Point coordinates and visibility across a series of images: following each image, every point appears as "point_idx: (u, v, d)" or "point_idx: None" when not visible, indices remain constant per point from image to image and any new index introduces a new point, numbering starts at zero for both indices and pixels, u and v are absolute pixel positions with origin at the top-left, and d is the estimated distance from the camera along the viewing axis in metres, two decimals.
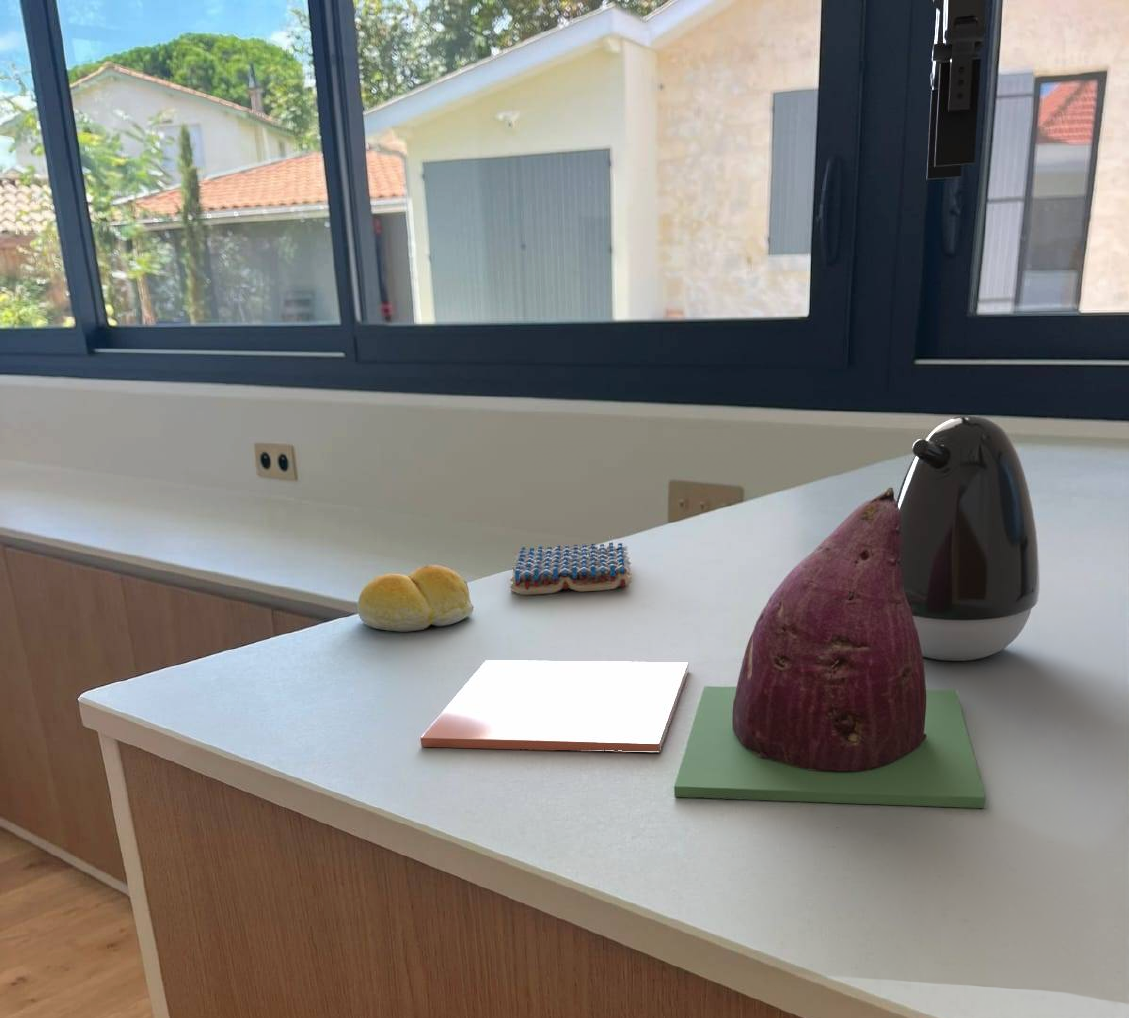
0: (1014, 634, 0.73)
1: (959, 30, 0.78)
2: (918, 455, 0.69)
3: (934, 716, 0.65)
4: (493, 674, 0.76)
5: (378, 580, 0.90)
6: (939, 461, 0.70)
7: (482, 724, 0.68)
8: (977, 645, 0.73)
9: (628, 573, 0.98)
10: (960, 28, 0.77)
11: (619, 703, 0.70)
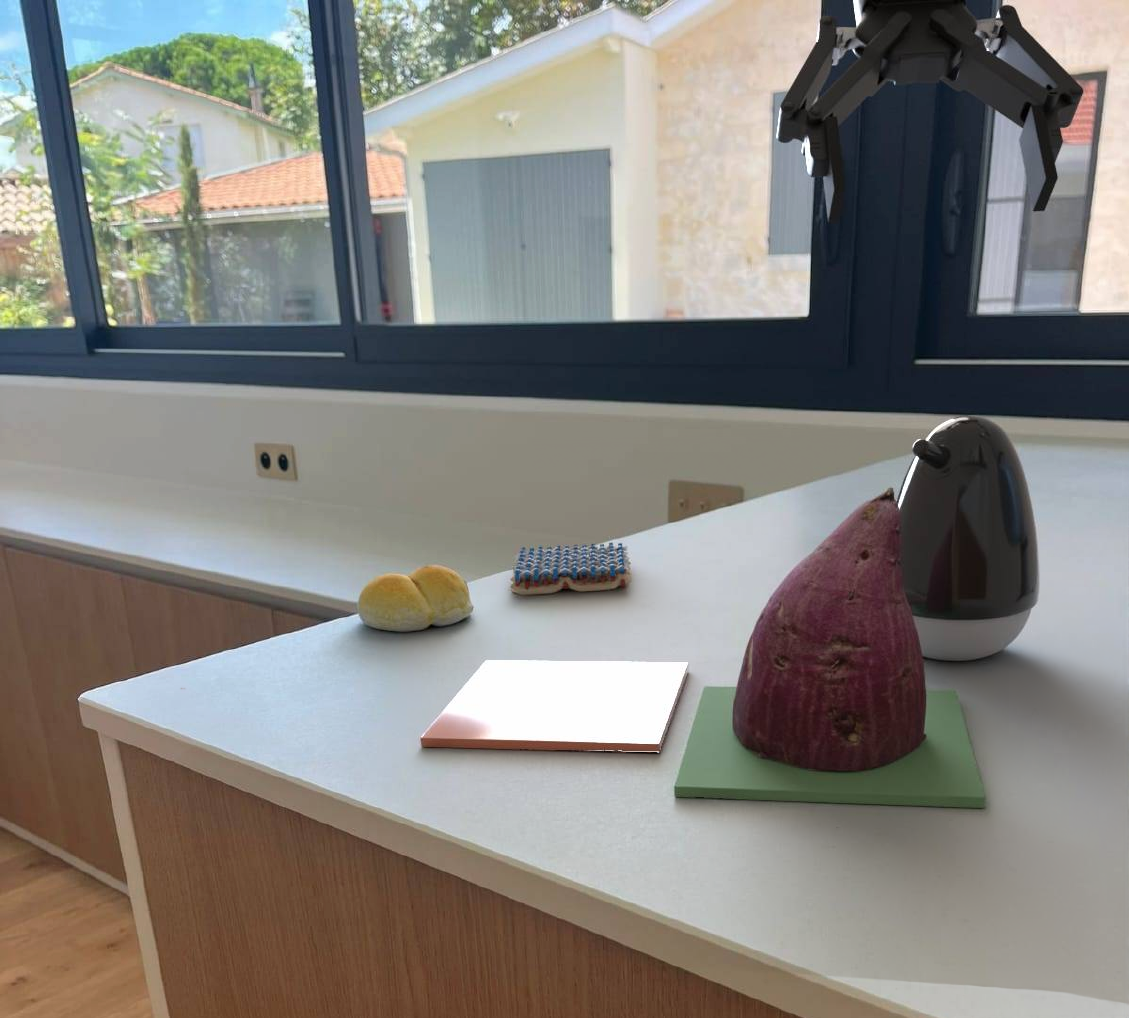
0: (1014, 634, 0.73)
1: None
2: (918, 455, 0.69)
3: (934, 716, 0.65)
4: (493, 674, 0.76)
5: (378, 580, 0.90)
6: (939, 461, 0.70)
7: (482, 724, 0.68)
8: (977, 645, 0.73)
9: (628, 573, 0.98)
10: None
11: (619, 703, 0.70)
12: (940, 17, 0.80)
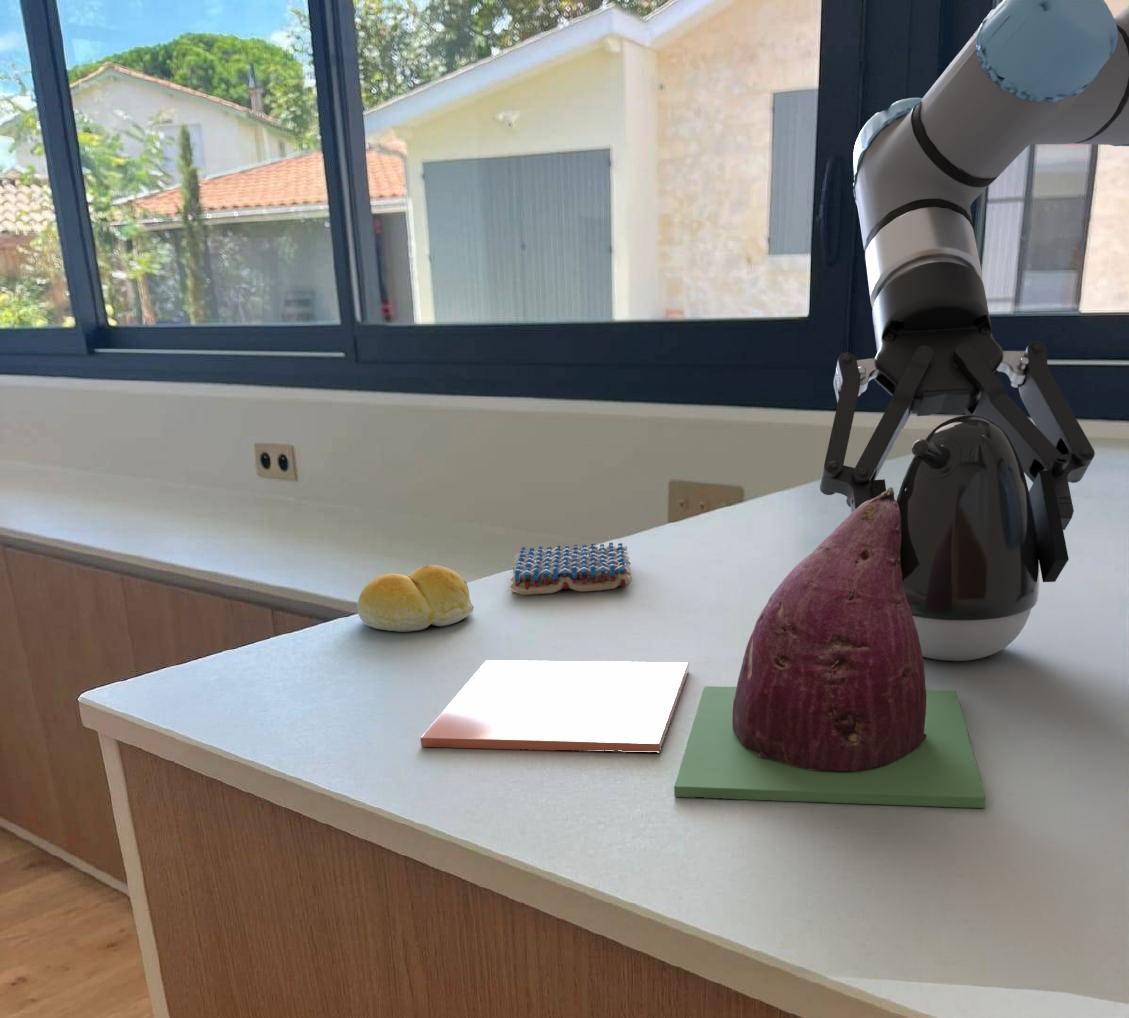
0: (1014, 634, 0.73)
1: (822, 479, 0.76)
2: (918, 455, 0.69)
3: (934, 716, 0.65)
4: (493, 674, 0.76)
5: (378, 580, 0.90)
6: (939, 461, 0.70)
7: (482, 724, 0.68)
8: (976, 645, 0.73)
9: (628, 573, 0.98)
10: None
11: (619, 703, 0.70)
12: (964, 352, 0.76)
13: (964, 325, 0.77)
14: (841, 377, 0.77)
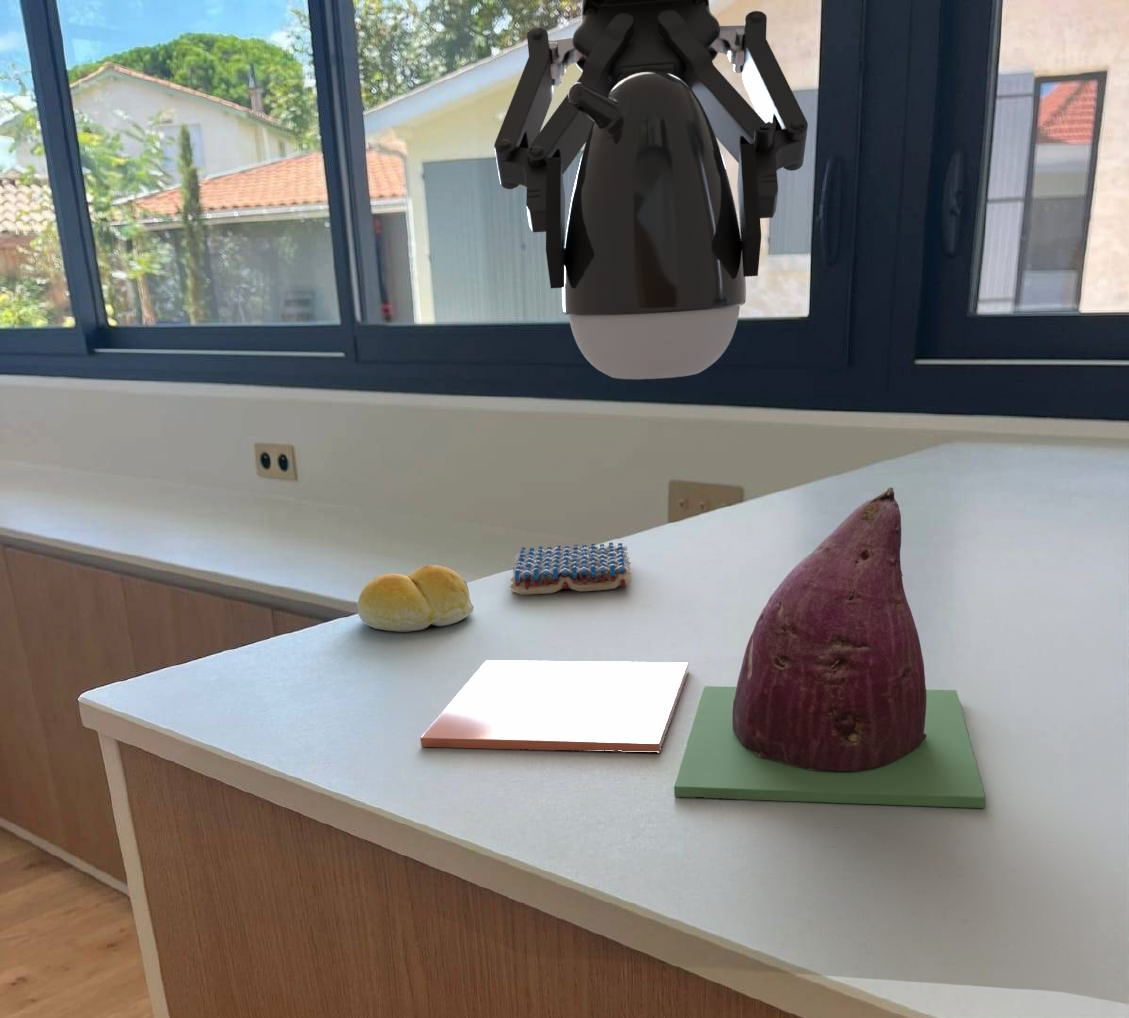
0: (711, 340, 0.62)
1: None
2: (573, 102, 0.57)
3: (934, 716, 0.65)
4: (493, 674, 0.76)
5: (378, 580, 0.90)
6: (603, 115, 0.58)
7: (482, 724, 0.68)
8: (663, 350, 0.61)
9: (628, 573, 0.98)
10: None
11: (619, 703, 0.70)
12: (668, 19, 0.64)
13: None
14: None
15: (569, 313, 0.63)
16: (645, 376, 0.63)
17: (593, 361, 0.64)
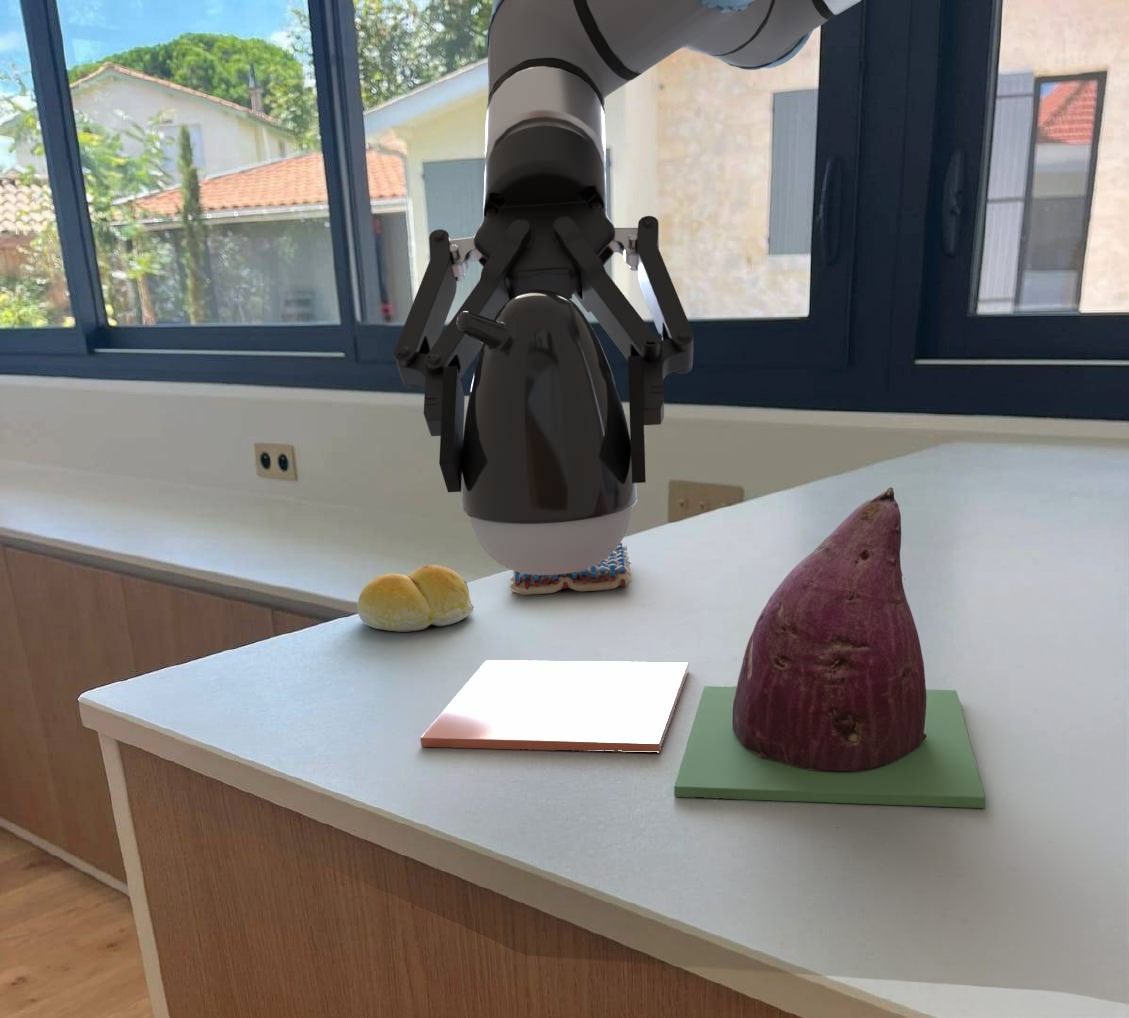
0: (601, 543, 0.64)
1: None
2: (461, 330, 0.60)
3: (934, 716, 0.65)
4: (493, 674, 0.76)
5: (378, 580, 0.90)
6: (491, 338, 0.61)
7: (482, 724, 0.68)
8: (555, 554, 0.64)
9: (628, 573, 0.98)
10: None
11: (619, 703, 0.70)
12: (563, 226, 0.67)
13: (572, 199, 0.69)
14: None
15: (466, 514, 0.65)
16: (540, 573, 0.66)
17: (491, 556, 0.67)
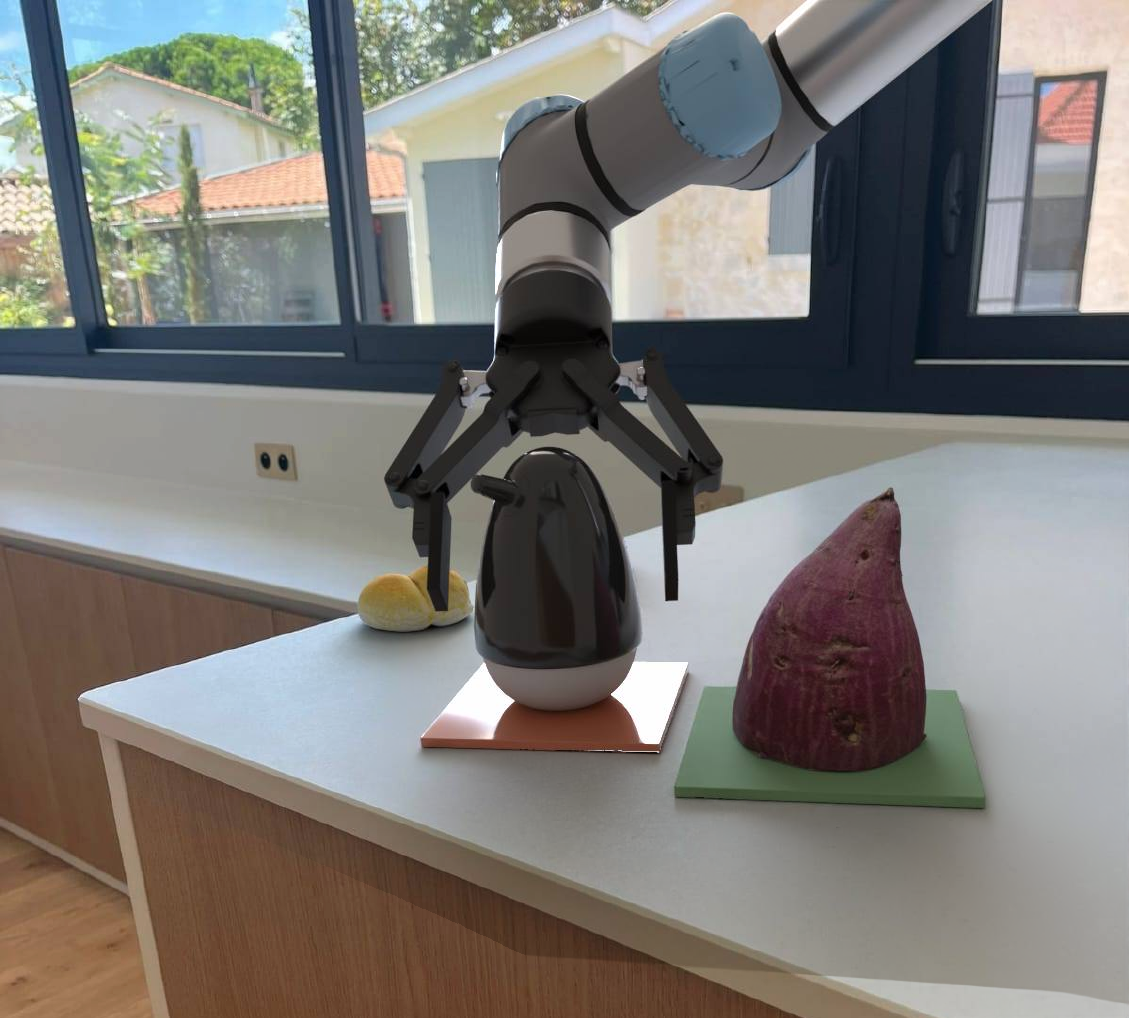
0: (608, 683, 0.68)
1: None
2: (475, 491, 0.63)
3: (934, 716, 0.65)
4: None
5: (378, 580, 0.90)
6: (503, 498, 0.64)
7: (482, 724, 0.68)
8: (564, 696, 0.67)
9: None
10: None
11: (619, 703, 0.70)
12: (571, 368, 0.70)
13: (579, 339, 0.72)
14: None
15: (479, 654, 0.69)
16: (550, 710, 0.69)
17: (503, 692, 0.70)
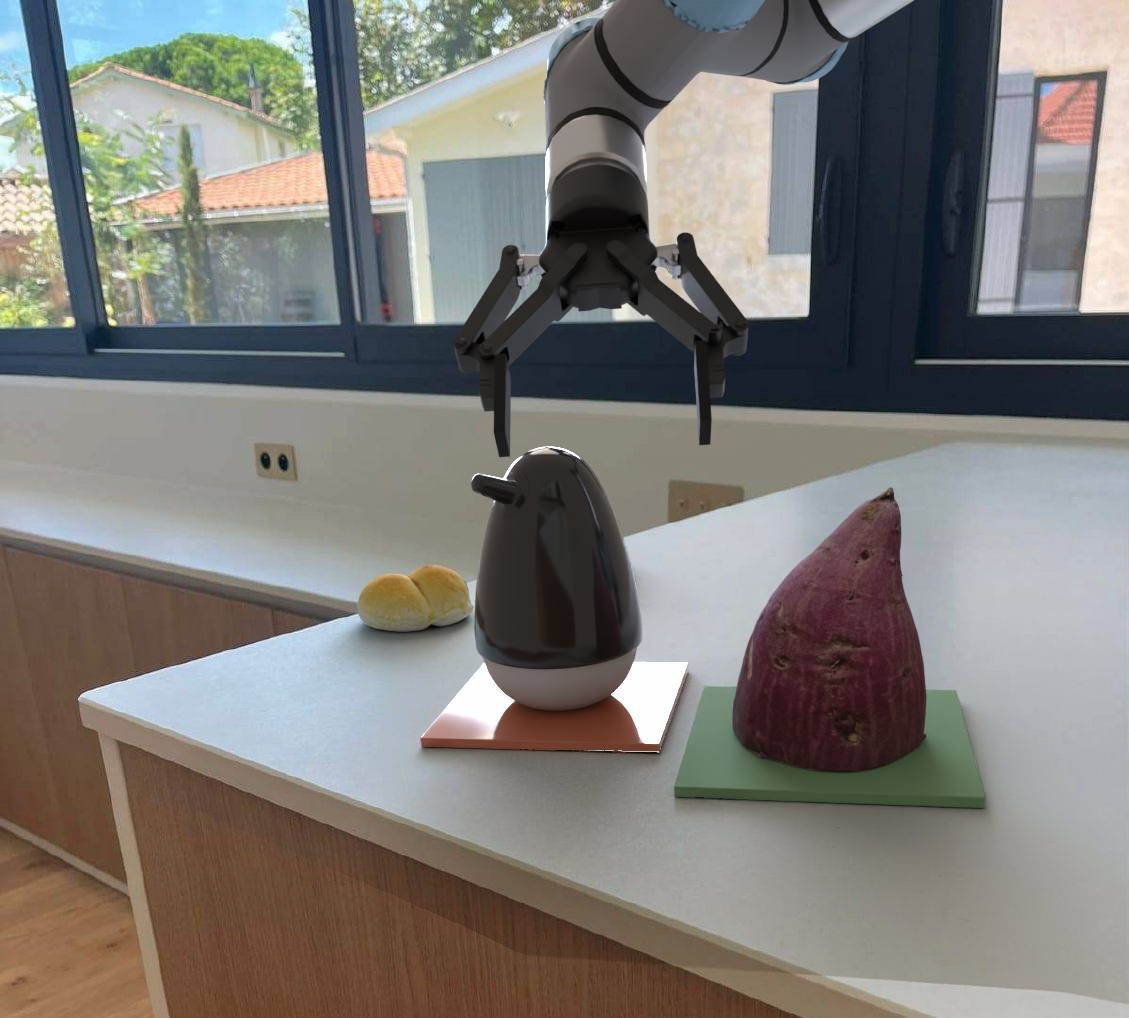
0: (608, 683, 0.68)
1: None
2: (475, 491, 0.63)
3: (934, 716, 0.65)
4: None
5: (378, 580, 0.90)
6: (504, 497, 0.64)
7: (482, 724, 0.68)
8: (564, 696, 0.67)
9: None
10: None
11: (619, 703, 0.70)
12: (615, 248, 0.80)
13: (621, 225, 0.82)
14: (500, 266, 0.82)
15: (480, 654, 0.69)
16: (550, 710, 0.69)
17: (503, 692, 0.70)
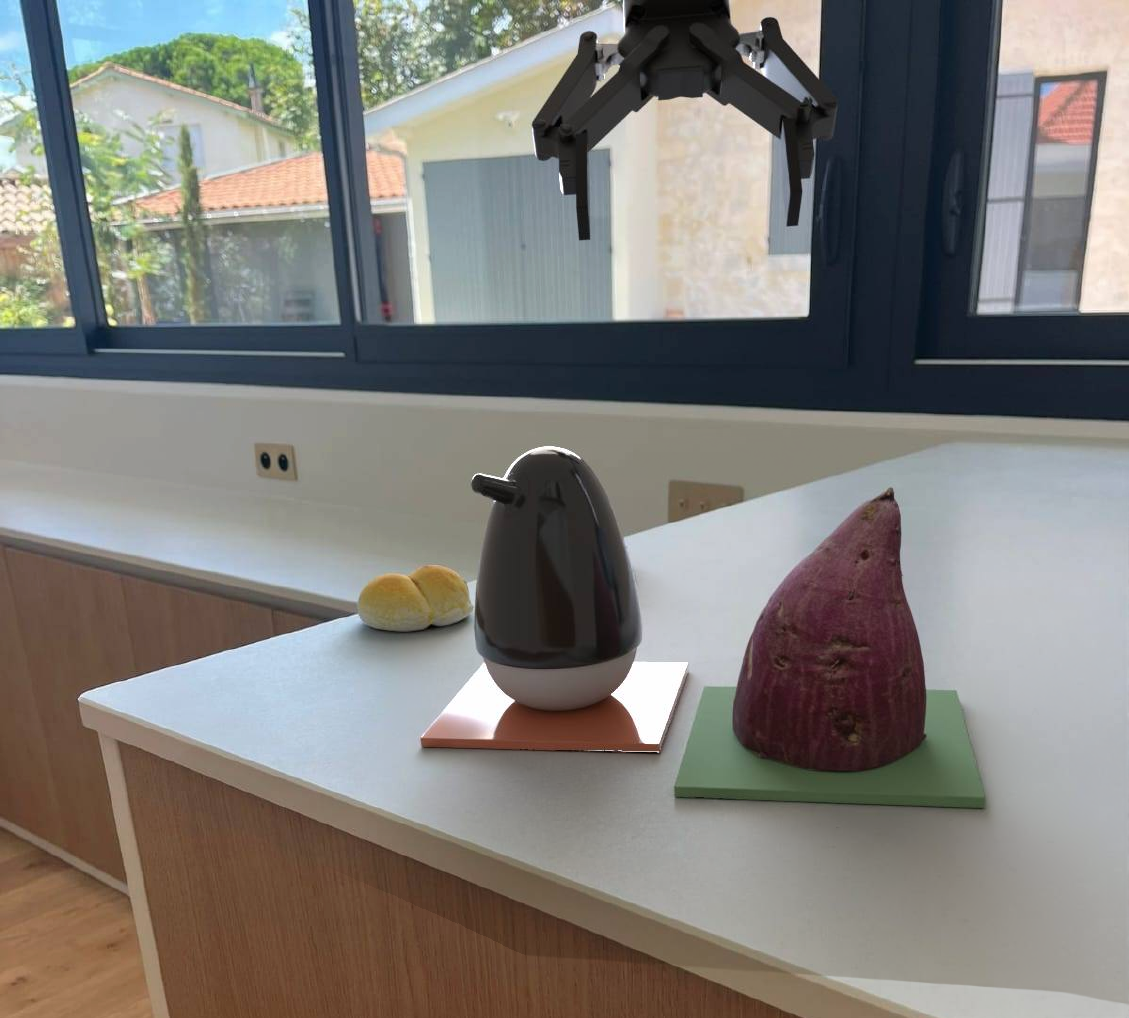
0: (608, 683, 0.68)
1: None
2: (475, 491, 0.63)
3: (934, 716, 0.65)
4: None
5: (378, 580, 0.90)
6: (504, 497, 0.64)
7: (482, 724, 0.68)
8: (564, 696, 0.67)
9: None
10: None
11: (619, 703, 0.70)
12: (698, 31, 0.78)
13: (703, 10, 0.80)
14: (578, 52, 0.79)
15: (480, 654, 0.69)
16: (550, 710, 0.69)
17: (503, 692, 0.70)
